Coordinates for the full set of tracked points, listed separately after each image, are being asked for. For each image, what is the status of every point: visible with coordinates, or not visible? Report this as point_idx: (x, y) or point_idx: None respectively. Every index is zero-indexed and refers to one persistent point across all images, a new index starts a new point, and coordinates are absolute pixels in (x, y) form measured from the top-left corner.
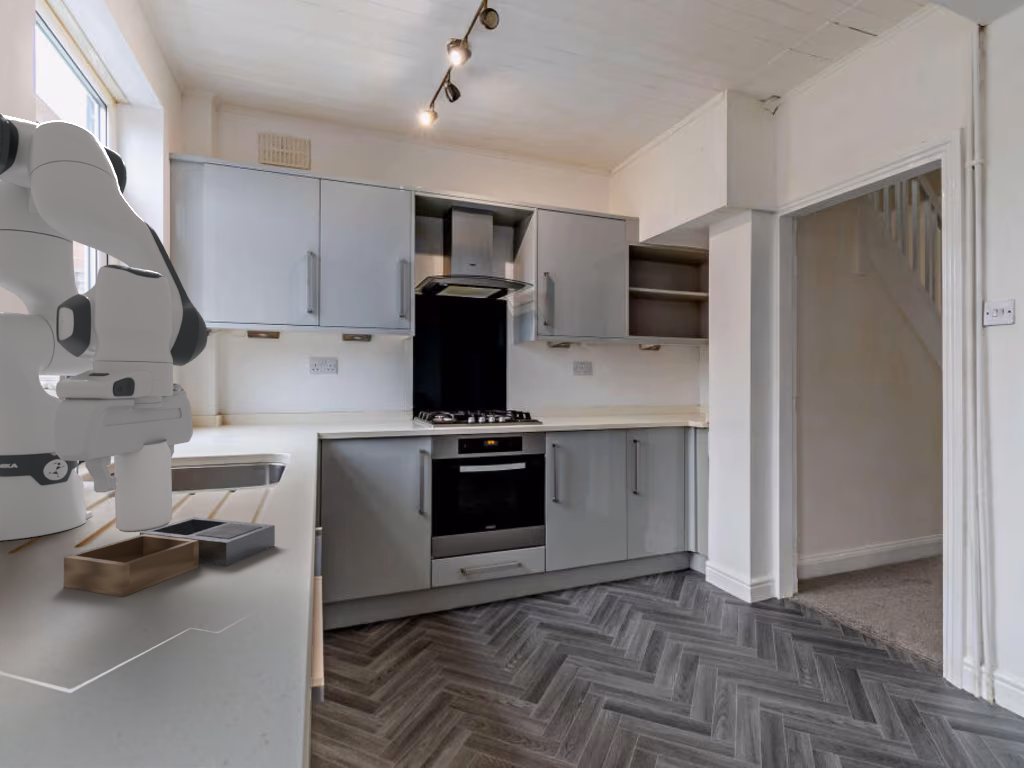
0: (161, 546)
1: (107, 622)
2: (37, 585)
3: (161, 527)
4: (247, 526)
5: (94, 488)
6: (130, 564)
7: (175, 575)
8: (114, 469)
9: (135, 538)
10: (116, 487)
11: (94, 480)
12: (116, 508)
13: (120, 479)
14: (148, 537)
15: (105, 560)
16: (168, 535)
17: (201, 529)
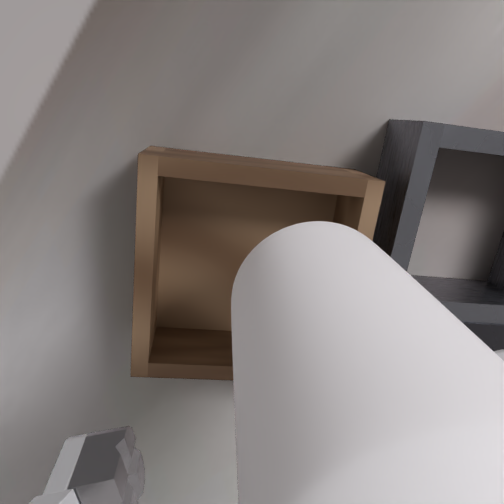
0: None
1: (47, 405)
2: (140, 55)
3: (483, 143)
4: None
5: (62, 448)
6: (150, 374)
7: None
8: (267, 407)
9: (340, 194)
10: (143, 482)
11: (46, 487)
12: (241, 301)
13: (235, 429)
14: (358, 221)
15: (147, 303)
16: (397, 245)
17: None
